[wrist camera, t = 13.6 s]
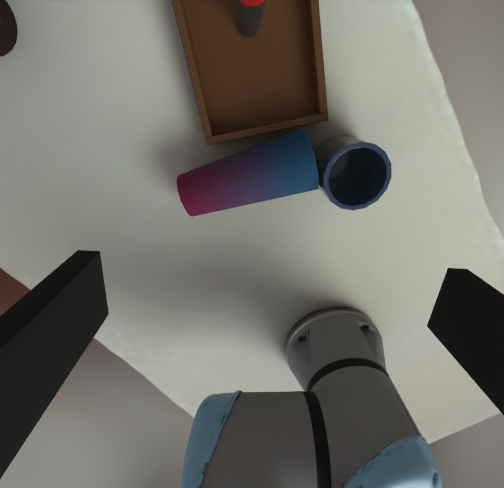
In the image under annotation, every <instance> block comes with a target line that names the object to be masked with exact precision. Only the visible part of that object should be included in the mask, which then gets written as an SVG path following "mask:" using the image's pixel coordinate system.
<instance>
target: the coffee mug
mask: <svg viewBox="0 0 504 488" xmlns="http://www.w3.org/2000/svg"><path fill="white" fill-rule="evenodd" d="M16 39H17V24H16V20H15V17H14V14H13V12H12V10H11V8H10V6H9V5H8V3H7V2H6V0H0V56H4V55H6V54H7V53H9V52H10V51H11V50H12V49H13V47H14V45H15V43H16Z"/></svg>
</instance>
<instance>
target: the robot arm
mask: <svg viewBox="0 0 504 488" xmlns="http://www.w3.org/2000/svg"><path fill="white" fill-rule="evenodd" d="M108 314H109V313H108V306H107V299H106V292H105V285H104V278H103V271H102V264H101V257H100V251H82V250H78V251H77V252H75V253H74V254H73V255H72V256H71V257H70V258H68V259H67V260H66V261H65V262H64V263H62V264H61V265H60V266H59V267H58V268H57V269H55V270H54V271H53V272H52V273H51V274H49V275H48V276H47V277H46V278H45V279H44V280H42V281H41V282H40V283H39V284H38V285H36V286H35V287H34V288H33V289H32V290H31V291H30V292H28V293H27V294H26V295H25V296H24V297H22V298H21V299H20V300H19V301H18V302H16V303H15V304H14V305H13V306H12V307H11V308H9V309H8V310H7V311H6V312H5V313H4V314H2V315H1V316H0V479H1V477H2V476H3V474H4V472H5V471H6V469H7V468H8V466H9V465H10V463H11V462H12V460H13V459H14V457H15V456H16V454H17V453H18V451H19V450H20V448H21V447H22V445H23V444H24V442H25V440H26V438H27V437H28V436H29V434H30V433H31V431H32V430H33V428H34V427H35V425H36V424H37V422H38V421H39V419H40V418H41V416H42V415H43V413H44V411H45V410H46V409H47V407H48V406H49V404H50V402H51V401H52V399H53V398H54V396H55V395H56V393H57V392H58V390H59V389H60V387H61V386H62V384H63V382H64V381H65V380H66V378H67V376H68V375H69V374H70V372H71V371H72V369H73V368H74V366H75V365H76V363H77V361H78V360H79V358H80V357H81V355H82V354H83V352H84V351H85V349H86V348H87V346H88V345H89V343H90V342H91V340H92V339H93V337H94V336H95V334H96V333H97V331H98V330H99V328H100V327H101V325H102V323H103V322H104V320H105V319H106V317H107V316H108ZM427 327H428V328H429V329H430V330H431V331H432V332H433V334H434V335H435V336H436V337H437V338H438V339H439V341H440V342H441V343H442V344H443V345H444V346H445V347H446V349H447V350H448V351H449V352H450V353H451V354H452V356H453V357H454V358H455V359H456V360H457V361H458V363H459V364H460V365H461V366H462V367H463V368H464V370H465V371H466V372H467V373H468V374H469V375H470V377H471V378H472V379H473V380H474V381H475V382H476V384H477V385H478V386H479V387H480V388H481V389H482V390H483V392H484V393H485V394H486V395H487V396H488V397H489V399H490V400H491V401H492V402H493V403H494V404H495V406H496V407H497V408H498V409H499V410H500V411H501V413H502V414H503V415H504V295H503V294H502V293H500V292H499V291H498V290H496V289H495V288H493V287H492V286H490V285H489V284H488V283H486V282H485V281H483V280H482V279H481V278H479V277H478V276H476V275H475V274H473V273H472V272H471V271H469V270H468V269H454V268H448V270H447V273H446V275H445V278H444V281H443V284H442V286H441V289H440V292H439V294H438V297H437V300H436V303H435V305H434V308H433V311H432V314H431V316H430V319H429V322H428V325H427ZM285 350H286V357H287V362H288V365H289V367H290V369H291V371H292V373H293V374H294V376H295V377H296V379H297V380H298V382H299V383H300V385H301V387H302V388H303V390H304V391H295V392H242V391H240V390H239V391H237V392H235V393H222V394H212V395H210V396H208V397H207V398H205V399H204V400H203V402H202V403H201V405H200V406H199V408H198V410H197V413H196V416H195V418H194V422H193V425H192V429H191V432H190V436H189V441H188V445H187V449H186V454H185V459H184V465H183V471H182V478H181V488H442V481H441V477H440V473H439V471H438V469H437V466H436V464H435V462H434V460H433V457H432V455H431V453H430V451H429V448H428V445H427V442H426V440H425V438H423V437H422V435H421V434H420V432H419V430H418V428H417V426H416V424H415V423H414V421H413V419H412V417H411V415H410V414H409V412H408V410H407V408H406V406H405V404H404V403H403V401H402V399H401V397H400V395H399V393H398V392H397V390H396V388H395V386H394V384H393V383H392V381H391V379H390V377H389V375H388V373H387V372H386V365H385V358H384V350H383V343H382V338H381V335H380V333H379V331H378V329H377V328H376V326H375V324H374V323H373V322H372V320H371V319H370V318H369V317H367V316H366V315H365V314H363V313H361V312H359V311H357V310H354V309H350V308H344V307H332V308H326V309H322V310H318V311H316V312H313V313H311V314H309V315H307V316H306V317H304V318H303V319H301V320H300V321H299V322H298V323H297V324H296V325H295V326H294V327H293V328H292V330H291V331H290V333H289V335H288V337H287V340H286V346H285Z"/></svg>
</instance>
